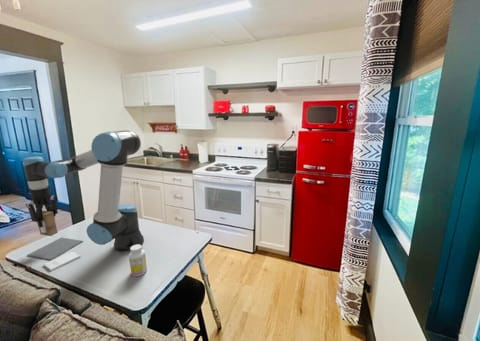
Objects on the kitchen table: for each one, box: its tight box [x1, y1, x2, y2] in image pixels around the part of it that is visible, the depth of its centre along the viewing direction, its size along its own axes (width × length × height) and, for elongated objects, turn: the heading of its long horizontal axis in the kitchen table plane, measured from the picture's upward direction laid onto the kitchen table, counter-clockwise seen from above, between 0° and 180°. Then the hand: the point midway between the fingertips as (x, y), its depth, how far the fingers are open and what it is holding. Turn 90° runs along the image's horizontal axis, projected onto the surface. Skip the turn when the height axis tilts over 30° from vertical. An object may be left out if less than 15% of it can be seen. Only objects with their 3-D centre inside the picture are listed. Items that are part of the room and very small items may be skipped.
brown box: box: [38, 210, 58, 237], centre depth 120 cm, size 7×4×12 cm, turn 76°
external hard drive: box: [43, 251, 81, 272], centre depth 114 cm, size 2×8×12 cm
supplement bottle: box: [128, 244, 148, 277], centre depth 105 cm, size 7×7×13 cm
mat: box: [26, 237, 84, 261], centre depth 126 cm, size 16×18×1 cm
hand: (48, 230), depth 121 cm, fingers closed on brown box, 4 cm apart
